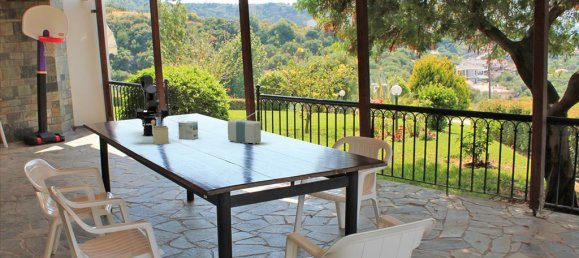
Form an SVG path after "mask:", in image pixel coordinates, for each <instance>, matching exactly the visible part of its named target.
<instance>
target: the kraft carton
mask: <svg viewBox="0 0 579 258" xmlns="http://www.w3.org/2000/svg"><path fill="white" fill-rule="evenodd" d="M152 136H153V135H152ZM153 143H154V145H166V144H169V143H170V142H169V127H168V126H167V125H157V126H154V136H153Z"/></svg>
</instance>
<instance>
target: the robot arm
mask: <svg viewBox="0 0 579 258" xmlns="http://www.w3.org/2000/svg"><path fill="white" fill-rule="evenodd" d="M153 84H154V76H152V75H151V74H143V75H142V76H140V77H139V85H140V88H141V89H142V93H143V99H144V108H137V109H136V110H135V118H137V119H138V120H141V121H142V122H141V125H142V127H143V134H142V136H145V137H146V136H147V137H152V136H153V134H152V123H151V120H155V122H156V123H155V124H154V126H158V124H157V123H158V120H157V118H156V116H155V115H160V124H161V125H162V123H163V121H164V119H166V118H168V116H169V108H167V107H165V108H164V107H163V108H161V109H160V110H158V106H160V103H161V102H160V99H156V97H157V94H158V90H157V88H156V87H155V85H153Z"/></svg>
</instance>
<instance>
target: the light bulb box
mask: <svg viewBox="0 0 579 258" xmlns="http://www.w3.org/2000/svg"><path fill="white" fill-rule="evenodd" d="M177 123H178V125H177V126H178V127H177V128H178V139H179V140H195V139H199V123H198V121H190V120H189V121H188V120H182V121H178V122H177Z"/></svg>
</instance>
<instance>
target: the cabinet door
mask: <svg viewBox="0 0 579 258" xmlns="http://www.w3.org/2000/svg"><path fill="white" fill-rule="evenodd" d="M151 123H152V134H153V135H152V136H154V124H155V123H156V122H155V120H151Z"/></svg>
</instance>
